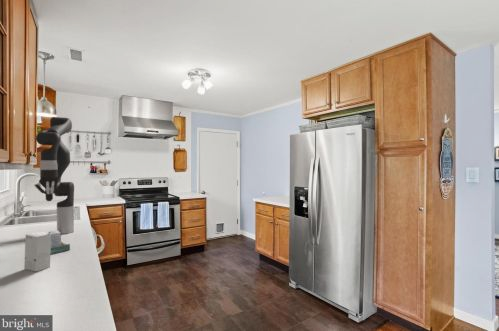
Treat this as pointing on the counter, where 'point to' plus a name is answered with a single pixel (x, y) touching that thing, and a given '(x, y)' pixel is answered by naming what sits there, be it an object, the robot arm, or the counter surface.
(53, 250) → the wooden tray
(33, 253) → the skincare box
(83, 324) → the counter surface
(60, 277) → the counter surface
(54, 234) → the medicine box
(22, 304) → the counter surface
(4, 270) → the counter surface
